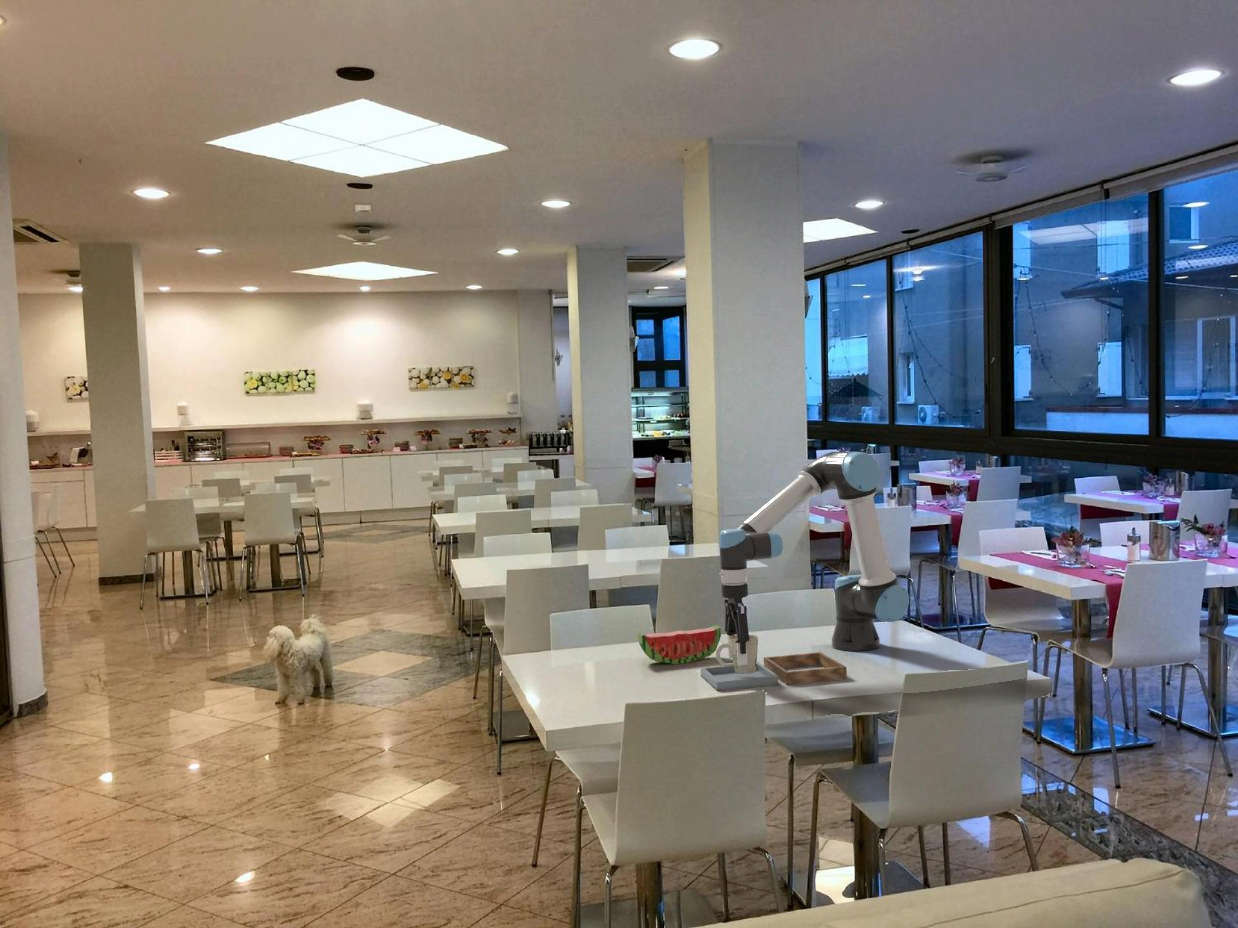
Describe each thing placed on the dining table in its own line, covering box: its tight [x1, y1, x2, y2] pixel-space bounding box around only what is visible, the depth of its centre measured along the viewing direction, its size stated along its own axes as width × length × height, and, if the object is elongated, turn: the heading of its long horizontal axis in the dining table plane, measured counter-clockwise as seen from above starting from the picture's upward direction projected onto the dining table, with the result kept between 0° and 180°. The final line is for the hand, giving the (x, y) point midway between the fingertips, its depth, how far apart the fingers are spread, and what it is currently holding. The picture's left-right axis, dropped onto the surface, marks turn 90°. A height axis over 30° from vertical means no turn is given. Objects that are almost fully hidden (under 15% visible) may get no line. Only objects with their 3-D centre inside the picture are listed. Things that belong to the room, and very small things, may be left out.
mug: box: [715, 634, 759, 674], centre depth 286 cm, size 8×13×10 cm, turn 78°
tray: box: [700, 661, 779, 692], centre depth 286 cm, size 18×17×2 cm
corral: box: [763, 651, 848, 686], centre depth 290 cm, size 18×20×4 cm
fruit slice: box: [637, 624, 722, 665], centre depth 313 cm, size 26×6×10 cm, turn 103°
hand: (737, 660), depth 286 cm, fingers closed on mug, 8 cm apart
